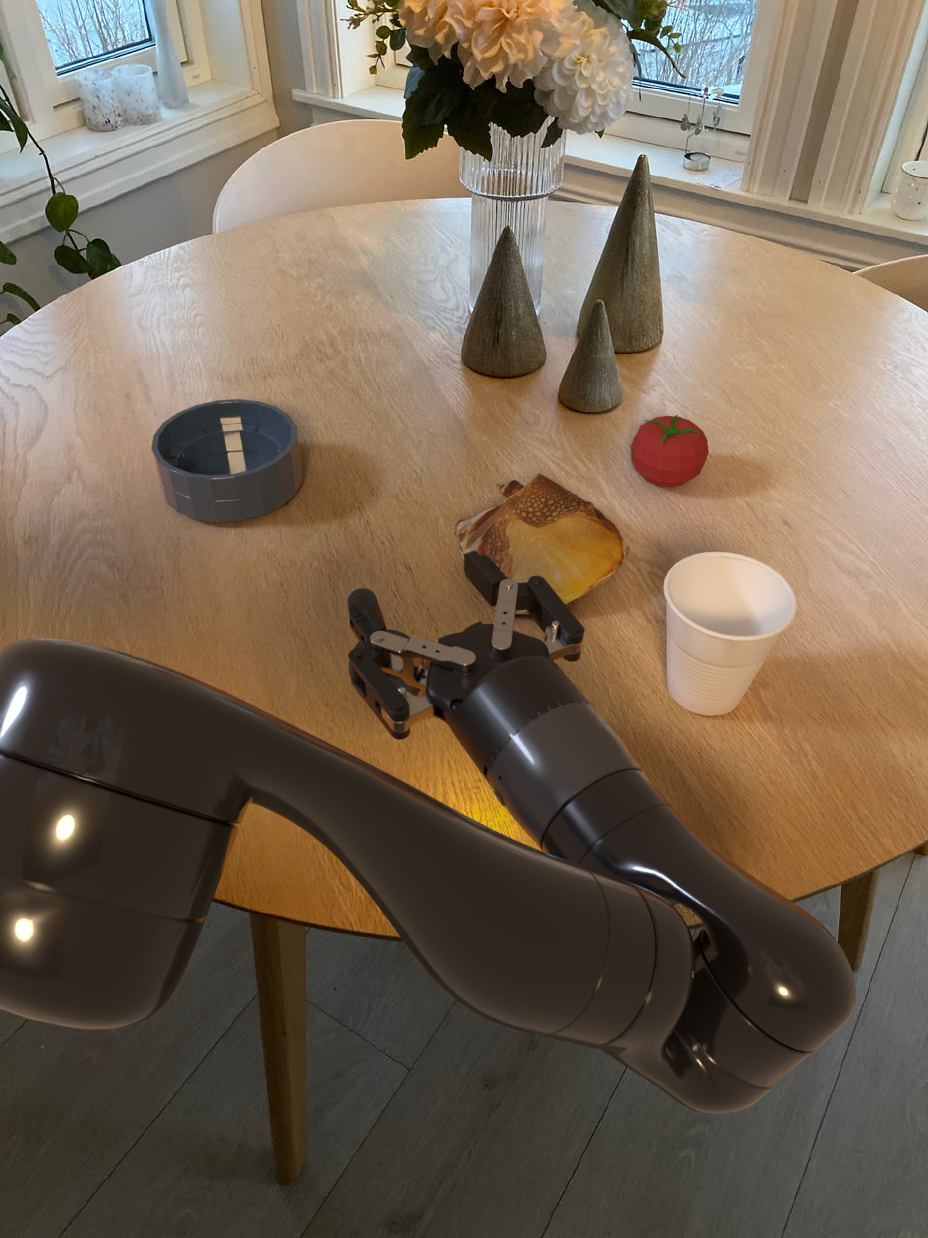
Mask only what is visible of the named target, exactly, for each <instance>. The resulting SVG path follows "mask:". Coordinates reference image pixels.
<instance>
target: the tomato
mask: <svg viewBox="0 0 928 1238" xmlns="http://www.w3.org/2000/svg"><path fill="white" fill-rule="evenodd" d="M644 422H645V423H643V424H641V425H640V426H639V428H638V430H637V432H636V433H635V435H634V436H633V437H634V438H633V439H632V441H631V444H630V456H631V457H630V458H631V462H632V464H633V465H632V466H633V467H634V469H635V470H636V471H637V473H638V474H639V475H640V476H641V477H642V478H643V479H644V480H645V481H646V482H648V483H649V484H651V485H654V486H656V487H660V488H676V487H681V486H683V485H685V484H687V483H689V482H690V481H692V480H693V479H696V477H698V476H700V475H701V472H702V470H703V468H704V466H705V464H706V462H707V459H708V457H709V453H710V452H709V443H708V438H707V436H706V435H705V431H704V430H702V428H700V427H699V426H698V425H697V424H695V423H694V422H693V421H691V420H690V419H686V418H684V417H681V416H678V414H676V415H662V416H657V417H654V418H652V419H649V420H648V419H645V420H644Z"/></svg>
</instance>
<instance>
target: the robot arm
mask: <svg viewBox="0 0 928 1238" xmlns="http://www.w3.org/2000/svg"><path fill="white" fill-rule="evenodd" d="M463 572H464V575H465V577H466V579H467V580H468V581H469V582H470V583H471V584H472V586H473V587H474V588H475V589H476V591H477V592H478V593H479V594H480V596H481V597H482V596H483V597H484V599H485V600H486V601H487V602H488V603H489V605H490V606H491V607H493V606H496V605H497V606H496V610H495V615H494V623H483V622H482V621H481V620H479V621H477V622H475V623H473V624H470V625H469V626H467V627H466V628H465V629H463V630H461V631H460V632H454V633H449V634H446V635H444V636H442V637H439V638H437V642H435V641H433V640H429V639H426V638H423V637H420V636H417V635H411V636H409V637H410V638H408V639H407V638H403V637H400V636H397V635H394V634H391V633H388V632H387V630H388V627H387V624H386V623H385V624H386V625H385V624H384V622H383V621H382V620H381V618H380V617H379V616H378V614H377V613H376V611H375V610H374V609H373V607H372V606H371V605H370V603H369V602H368V600H367V599H366V598H365V596H364V595H363V594H362V593H361V594H358V595H356V596H353V597H351V602H352V606H349V607H348V606H347V608H348V618H349V628H350V629H351V631H352V632H353V633H354V636H355V637H356V638H357V640H358V642H359V641H360V642H361V644H362V645H363V647H362V648H355V649H354V648H352V649H351V650H349V652H348V656H347V657H348V664H349V663H350V669H351V678H350V683H351V685H352V686H353V688H354V689H355V690H356V692H357V691H358V692H357V694H358V693H359V694H360V695H361V696H362V697H361V696H360V695H359V694H358V695H359V696H360V697H361V699H362V700H364V702H365V703H366V704H367V706H368V707H369V708H370V710H371V711H372V712H373V713H374V715H375V716H376V717H377V719H378V720H379V721H380V723H381V725H383V727H384V728H385V729H386V731H387V732H388V734H389V735H390V736H391V737H392V738H393V739H394V740H398V741H400V740H401V741H402V740H405V739H407V738H408V737H409V736H410V734H411V726H412V727H413V726H414V725H415V724H417V723H419V722H421V721H423V720H426V719H427V718H429V717H431V716H433V717H435V718H436V719H439V720H441V721H442V722H444V723H445V724H446V725H447V726H448V727H449V728H450V730H451V732H452V734H453V736H454V737H455V739H456V740H457V742H458V743H459V744H460V746H461V748H463V750H464V751H465V752H466V754H467V756H468V757H469V758H470V759H471V761H472V762H473V764H474V765H475V766H476V768H477V770H478V771H479V772H480V773H481V775H482V776H483V778H484V780H485V781H486V782H487V784H488V785H489V786H490V788H491V789H492V790H493V794H494V796H495V798H496V799H497V801H498V802H499V803H500V805H501V806H502V807H504V808H505V809H506V811H508V813H509V814H510V815H511V817H512V819H513V820H514V821H515V822H516V824H517V825H518V826H519V828H521V829H522V830H523V831H524V833H526V835H528V836H529V838H530V839H531V840H533V842H534V843H535V844H536V845H537V846H538V847H539V849H537V848H535V847H534V846H530V845H528V844H526V843H523V842H520V841H518V840H516V839H513V838H511V837H510V836H507V835H505V834H504V833H501V832H499V831H497V830H494V829H493V828H491V827H488V826H487V825H485V824H483V823H481V822H479V821H477V820H475V819H474V818H471V817H470V816H468V815H466V814H464V813H462V812H460V811H459V810H457V809H455V808H453V807H451V806H449V805H448V804H446V803H444V802H442V801H440V800H439V799H437V798H434V797H433V796H431V795H429V794H428V793H426V792H424V791H422V790H420V789H419V788H417V787H415V786H413V785H411V784H409V783H407V782H405V781H403V779H400V778H398V777H396V776H395V775H392V774H391V773H389V772H387V771H385V770H382V769H381V768H379V767H377V766H375V765H373V764H371V763H370V762H367V761H366V760H363V759H361V758H359V757H357V756H356V755H353V754H351V753H350V752H347V751H345V750H343V749H342V748H339V747H338V746H335V745H333V744H332V743H330V742H327V741H326V740H324V739H322V738H319V737H318V736H315V735H314V734H312V733H310V732H307V731H306V730H304V729H303V728H300V727H298V726H296V725H294V724H292V723H290V722H288V721H286V720H285V719H281V718H280V717H279V716H276V715H273V714H271V712H268V711H266V710H264V709H261V708H260V707H258V706H255V705H253V704H252V703H250V702H248V701H245V700H243V699H241V698H239V697H237V696H235V695H233V694H231V693H229V692H228V691H225V690H222V689H220V688H219V687H216V686H214V685H212V684H209V683H207V682H205V681H203V680H200V679H198V678H196V677H194V676H191V675H190V674H189V675H188V674H186V673H183V672H181V671H178V670H176V669H174V668H170V667H169V666H165V665H163V664H161V663H157V662H155V661H153V660H150V659H147V658H146V657H145V658H144V657H141V656H139V655H135V654H132V653H128V652H125V651H122V650H119V649H116V648H112V647H108V646H105V645H100V644H94V643H89V642H84V641H80V640H74V639H70V638H62V637H61V638H60V637H30V638H24V639H19V640H17V641H14V642H12V643H10V644H7V645H6V646H4V648H3V649H1V650H0V1010H2V1011H5V1012H8V1013H11V1014H13V1015H16V1016H19V1017H21V1018H22V1017H23V1018H25V1019H27V1020H28V1019H29V1020H33V1021H37V1022H42V1023H46V1024H50V1025H56V1026H61V1027H65V1028H70V1029H77V1030H79V1029H80V1030H105V1031H106V1030H114V1029H115V1030H116V1029H122V1028H126V1027H129V1026H133V1025H136V1024H139V1023H141V1022H143V1021H146V1020H147V1019H149V1018H150V1017H152V1016H154V1015H155V1014H156V1013H157V1012H159V1011H160V1010H161V1009H162V1008H163V1007H164V1006H165V1005H166V1004H167V1002H168V1001H169V1000H170V998H171V997H172V995H173V994H174V992H175V990H176V989H177V987H178V985H179V984H180V981H181V980H182V978H183V975H184V973H185V971H186V969H187V967H188V965H189V962H190V960H191V957H192V954H193V952H194V950H195V948H196V945H197V942H198V940H199V938H200V935H201V933H202V930H203V928H204V925H205V922H206V919H207V916H208V914H209V911H210V908H211V905H212V903H213V900H214V897H215V895H216V892H217V889H218V887H219V884H220V881H221V878H222V876H223V873H224V871H225V868H226V865H227V862H228V860H229V857H230V854H231V852H232V848H233V846H234V843H235V841H236V838H237V835H238V832H239V830H240V829H239V826H237V825H240V824H242V822H243V819H244V816H245V814H246V812H247V809H248V807H249V805H250V804H251V805H252V804H253V805H256V806H259V807H261V808H264V809H266V810H268V811H270V812H272V813H274V814H275V815H278V816H280V817H282V818H284V819H286V820H287V821H289V822H291V823H292V824H293V825H295V826H297V827H299V828H300V829H302V830H303V831H304V832H306V833H308V835H310V836H311V837H313V839H315V840H317V841H318V842H319V843H320V844H321V845H323V847H325V848H326V849H327V850H328V851H329V852H330V853H331V854H333V855H334V857H336V859H338V861H339V862H340V863H341V864H342V865H343V866H344V867H345V869H346V870H347V871H348V872H349V873H350V874H351V875H352V876H353V878H354V879H355V880H357V882H358V883H359V884H360V886H361V887H362V888H363V889H364V890H365V892H366V893H367V894H368V895H369V897H370V898H371V900H372V901H373V902H374V904H376V906H377V907H378V908H379V910H380V911H381V913H382V914H383V915H384V916H385V918H386V919H387V920H388V922H389V923H390V926H392V928H393V929H394V930H395V933H397V935H398V936H399V938H400V939H401V940H402V942H403V943H404V944H405V946H406V947H407V948H408V950H409V951H410V952H411V954H412V955H413V956H414V957H415V959H416V960H417V962H418V963H419V964H420V965H421V966H422V968H423V969H424V970H425V972H426V973H427V974H428V975H429V976H430V977H431V978H432V980H434V981H435V982H436V984H437V985H438V986H439V987H441V988H442V989H443V990H444V991H445V992H446V993H447V994H448V995H450V996H451V997H452V998H453V999H455V1001H457V1002H458V1003H459V1004H461V1005H462V1006H464V1007H465V1008H466V1009H468V1010H470V1011H471V1012H473V1013H474V1014H476V1015H478V1016H480V1017H482V1018H484V1019H486V1020H488V1021H491V1022H492V1023H496V1024H498V1025H502V1026H504V1027H507V1028H510V1029H513V1030H516V1031H520V1032H524V1033H529V1034H533V1035H538V1036H542V1037H545V1038H546V1037H547V1038H549V1039H554V1040H558V1041H562V1042H566V1043H571V1044H575V1045H579V1046H584V1047H586V1048H591V1049H596V1050H600V1051H601V1052H603V1053H605V1054H607V1055H608V1056H609V1057H610V1058H612V1059H614V1060H616V1061H617V1062H618V1063H620V1064H621V1065H622V1066H625V1067H626V1068H627V1069H629V1070H631V1071H632V1072H634V1073H636V1074H637V1075H638V1076H640V1077H642V1078H643V1079H645V1080H646V1081H647V1082H649V1083H651V1084H652V1085H654V1086H655V1087H657V1088H658V1089H659V1090H661V1091H662V1092H663V1093H665V1094H666V1095H667V1096H669V1097H671V1098H672V1099H673V1100H675V1101H676V1102H677V1103H678V1104H681V1105H682V1106H684V1107H685V1108H687V1109H689V1110H692V1111H695V1112H698V1113H702V1114H707V1115H724V1114H730V1113H731V1114H732V1113H735V1112H739V1111H743V1110H745V1109H747V1108H750V1107H751V1106H753V1105H755V1104H756V1103H758V1102H759V1101H761V1099H763V1098H764V1097H765V1096H766V1095H768V1093H769V1092H771V1091H772V1090H773V1089H774V1088H775V1087H777V1085H779V1083H781V1082H782V1081H783V1080H784V1079H785V1078H786V1077H787V1076H789V1075H790V1074H791V1073H792V1071H794V1070H795V1069H797V1067H798V1066H800V1065H801V1064H802V1063H803V1062H804V1061H805V1060H806V1059H807V1058H808V1057H810V1056H811V1055H812V1054H813V1053H814V1052H815V1051H816V1050H818V1049H820V1048H821V1047H822V1045H823V1044H825V1043H826V1042H828V1041H829V1040H830V1039H831V1038H832V1037H833V1036H834V1035H835V1034H836V1033H837V1032H838V1031H839V1030H840V1029H841V1028H842V1027H843V1026H844V1025H845V1024H846V1022H847V1021H848V1020H849V1019H850V1017H851V1016H852V1014H853V1012H854V1010H855V1006H856V1001H857V1000H856V999H857V988H856V981H855V975H854V972H853V970H852V966H851V963H850V962H849V958H848V957H847V955H846V953H845V951H844V949H843V947H842V946H841V945H840V943H839V941H837V939H836V938H835V937H834V935H833V934H832V933H831V931H829V930H828V929H827V928H826V927H825V926H824V924H822V923H821V922H820V921H819V920H818V919H817V918H815V917H814V916H813V915H811V914H810V913H809V912H808V911H806V910H805V909H804V908H802V907H801V906H800V905H798V904H796V903H795V902H794V901H792V900H790V899H789V898H787V897H785V896H784V895H783V894H781V893H779V892H778V891H776V889H773V888H772V887H770V886H769V885H767V884H765V883H764V882H762V881H761V880H759V879H758V878H757V877H755V876H754V875H752V874H751V873H749V872H748V871H747V870H746V869H744V868H742V867H741V866H739V865H738V864H737V863H736V862H735V861H733V860H732V859H731V858H729V857H728V856H727V855H725V854H724V853H722V852H721V851H720V850H719V849H717V848H716V847H715V846H714V845H713V844H711V843H710V842H709V841H708V840H706V838H704V837H703V836H702V835H700V833H698V832H697V830H695V829H693V827H692V826H691V825H689V824H688V822H686V821H685V819H684V818H683V817H682V816H681V814H680V813H679V812H678V811H677V810H676V809H675V808H674V807H673V806H672V804H671V803H670V802H669V800H668V799H667V798H666V797H665V796H664V795H663V794H662V793H661V791H660V790H659V789H658V788H657V786H655V784H654V783H653V782H652V781H651V779H649V777H648V776H647V775H646V774H645V772H644V771H643V769H642V768H641V767H640V766H639V764H638V763H637V761H636V760H635V759H634V757H633V755H632V754H631V752H630V750H629V748H628V747H627V745H626V744H625V743H624V741H623V740H622V739H621V737H620V736H619V735H618V734H617V732H616V731H615V730H614V728H612V727H611V726H610V724H609V723H608V722H607V721H606V719H605V718H604V717H603V716H602V715H601V714H600V713H599V711H598V710H597V709H596V708H595V707H594V705H593V704H592V703H591V702H590V701H589V700H588V698H587V697H586V696H585V695H584V694H583V693H582V692H581V690H580V689H579V688H578V687H577V685H576V684H575V683H574V682H573V681H572V680H571V679H570V677H569V676H568V675H567V674H566V673H565V671H563V669H562V668H561V667H560V665H558V664H557V663H556V662H555V661H556V660H558V659H561V658H562V659H563V660H564V661H566V662H569V663H575V662H577V661H579V660H580V659H581V655H582V648H583V642H584V637H585V627H584V626H583V624H582V623H581V622H580V621H579V620H578V618H577V617H576V615H574V613H573V612H572V611H571V610H570V608H569V607H568V606H567V604H566V605H565V603H564V602H563V601H562V600H561V599H560V597H559V596H558V595H557V594H556V592H555V591H554V590H553V589H552V587H551V586H550V585H549V584H548V582H547V581H546V580H545V579H544V578H543V577H541V576H532V577H530V578H529V579H528V582H522V583H517V582H516V581H515V580H512V579H508V578H507V577H506V575H505V574H504V573H503V572H502V571H501V570H500V569H499V568H498V567H497V565H496V564H495V563H494V562H493V561H492V560H491V558H489V557H488V556H486V555H484V554H483V555H481V556H480V555H479V554H478V552H477V551H475V550H473V551H471V552H468V553H465V555H464V560H463ZM490 606H489V607H490ZM491 607H490V608H491ZM520 610H527V611H528V612H529V614H528V615H530V617H531V618H532V619H533V620H534V622H535V623H536V625H537V626H538V627H539V628H540V630H541V631H542V632H543V633H544V638H543V640H541V639H539V638H537V637H534V636H531V635H529V634H525V633H522V632H520V631H516V630H515V622H516V615H517V614H516V611H520ZM421 659H422V660H423V661H424V662H428V669H426V667H425V668H424V667H423V666H422V664H421ZM384 672H386V673H389V674H392V675H395V676H398V677H400V678H402V679H403V681H404V682H405V683H406V684H408V685H410V686H413V687H416V688H419V689H420V690H422V691H424V695H419V696H418V695H416V696H414V695H412V694H411V693H410V692H408V691H406V688H404V687H401V688H399V689H397V688H396V687H395V686H394V684H393V683H392V682H391V681H390V679H389V678H388V677H387V676H386V674H385V673H384ZM677 905H681V906H683V907H685V908H686V909H689V910H690V912H693V914H695V915H696V916H697V918H699V920H700V921H701V922H702V924H703V925H704V927H703V928H702V929H701V930H700V931H698V932H697V933H696V934H695V935H694V936H692V933H691V930H690V928H689V925H688V924H687V922H686V920H685V918H684V917H683V916H682V914H681V913H680V912H679V910H678V909H677V908H676V906H677Z"/></svg>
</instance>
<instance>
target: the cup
mask: <svg viewBox="0 0 928 1238" xmlns="http://www.w3.org/2000/svg"><path fill="white" fill-rule="evenodd" d="M663 594H664V598H665V604H666V605H665V607H666V609H665V610H666V611H665V613H666V615H665V616H666V617H665V618H666V619H665V620H666V688H667V690H668V693H669V695H670V696H671V698H672V700H673V701H674V702H675V703H676V704H678V705H679V706H680V707H682V708H683V709H685V710H687V711H688V712H691V713H693V714H697V715H701V716H709V717H711V716H712V717H714V716H722V715H725V714H728V713H730V712H732V711H733V710H734V709H736V708H737V707H738V705H739V704H740V703H741V702H742V700H743V698H744V696H746V693H747V692H748V690H749V689H750V686H751V685H752V684H753V681H754V680H755V678H756V677H757V675H758V673H759V672H760V670H761V668H762V666H764V663H765V662H766V660H767V659H768V657H769V655H770V654H771V652H772V651H773V649H774V648H775V646H776V644H777V642H778V641H779V639H780V637H781V636H782V634H783V633H784V631H785V630H786V629H787V628H788V627H790V626H791V624H792V623H793V621H794V620H795V618H796V616H797V612H798V599H797V595H796V592H795V590H794V588H793V586H792V585H791V584H790V582H789V581H788V580H787V578H786V577H784V576H783V574H781V573H780V572H779V571H778V570H776V569H775V568H774V567H772V566H771V565H769V564H767V563H765V562H763V561H761V560H758V559H756V558H754V557H752V556H749V555H748V556H747V555H744V554H740V553H737V552H736V553H735V552H730V551H704V552H698V553H695V554H691V555H688V556H687V557H685V558H682V559H680V560H679V561H678V562H676V563H675V564H674V565H673V566H672V567H671V568H670V569H669V570H668V571H667V573H666V576H665V577H664V581H663Z"/></svg>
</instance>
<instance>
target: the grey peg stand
mask: <svg viewBox="0 0 928 1238" xmlns="http://www.w3.org/2000/svg"><path fill="white" fill-rule="evenodd" d="M361 593H362V594H363V595H364V596H365V598H366V599H367V600H368V602H369V603H370V605H371V606H372V607H373V609H374V610H375V611H376V613H377V614H378V616H379V617H380V618H381V620H382V621H383V622H384V624H385V625H386V626H387V624H386V621H385V619H384V615H383V613H382V610H381V607H380V603H379V600H378V598H377V594H376V593H375V592H374V591H372V590H371V589H369V588H366V587H359V588H356V589H355V590H353V591H352V592H351V593H350V594H349V595H348V597H347V602H346V603H347V604H346V605H347V608H348V607H349V606H352V602H351V597H353V596H356V595H358V594H361ZM387 632H388V633H391V634H394V635H397V636H400V637H403V638H407V639H408V638H410V637H411V636H409V635H408V634H406V633H405V632H402V631H401V630H400V631H399V630H396V629H387ZM362 647H363V645H362V644H361V642H360V641H359V640H358V641H357V643H356V644H355V645H354V647H353V649H355V648H362ZM421 664H422V666H423V667H424V668H425V669H426V667H425V666H426V665H425V660H422V659H421ZM347 667H348V674H349V678H350V679H351V669H350V663H349V662H348V666H347ZM384 673H385V674H386V676H387V677H388V678H389V679H390V681H391V682H392V683H393V684H394V686H395V687H396V688H397V689H399V688H401V687H404V688H406V691H408V692H410V693H411V694H412V695H414V696H418V694H419V693H420V691H421V689H419V688H416V687H413V686H410V685H408V684H406V683H405V682H404V681H403V679H402V678H400V677H398V676H395V675H392V674H389V673H386V672H384ZM356 692H357V694H358V695H359V697H361V698H362V696H361V695H360V694H359V693H358V691H357V690H356Z"/></svg>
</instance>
